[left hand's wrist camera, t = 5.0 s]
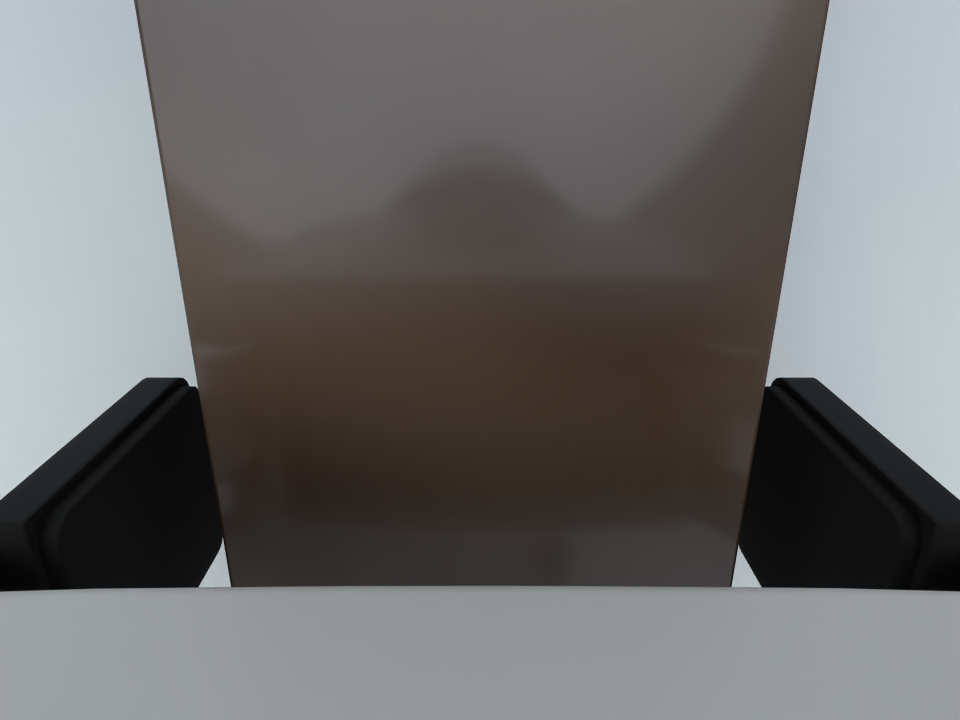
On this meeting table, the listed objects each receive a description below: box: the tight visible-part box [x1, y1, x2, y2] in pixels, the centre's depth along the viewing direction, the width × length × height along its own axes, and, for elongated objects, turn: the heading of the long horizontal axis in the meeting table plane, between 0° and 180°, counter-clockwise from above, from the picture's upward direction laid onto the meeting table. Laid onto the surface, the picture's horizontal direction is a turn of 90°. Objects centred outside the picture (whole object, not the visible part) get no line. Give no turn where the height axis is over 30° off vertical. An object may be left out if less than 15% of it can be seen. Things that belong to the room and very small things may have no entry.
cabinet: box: [134, 0, 829, 587], centre depth 11 cm, size 19×6×10 cm, turn 0°
